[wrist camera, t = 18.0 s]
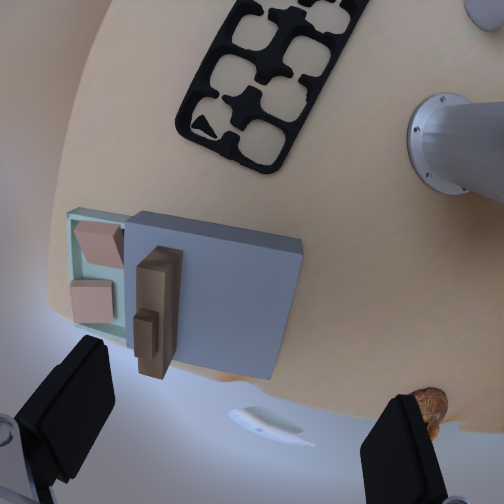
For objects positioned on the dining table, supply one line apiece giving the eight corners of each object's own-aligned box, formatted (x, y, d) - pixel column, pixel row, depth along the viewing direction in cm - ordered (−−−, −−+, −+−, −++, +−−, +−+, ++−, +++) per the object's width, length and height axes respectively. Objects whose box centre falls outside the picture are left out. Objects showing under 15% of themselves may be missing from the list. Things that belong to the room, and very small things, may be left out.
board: (301, 239, 39) (303, 254, 34) (272, 356, 45) (270, 379, 41) (142, 210, 39) (124, 221, 35) (139, 327, 46) (126, 347, 41)
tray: (141, 218, 40) (131, 224, 37) (139, 333, 46) (132, 344, 43) (78, 207, 40) (66, 212, 37) (84, 316, 46) (75, 326, 44)
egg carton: (177, 150, 37) (166, 153, 33) (238, -59, 26) (234, -74, 22) (322, 187, 37) (326, 193, 33) (376, -29, 26) (383, -42, 22)
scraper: (183, 250, 35) (157, 282, 28) (176, 349, 40) (157, 391, 33) (157, 245, 35) (127, 275, 28) (154, 344, 40) (132, 384, 33)
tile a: (119, 224, 37) (112, 236, 35) (130, 258, 41) (124, 269, 40) (80, 220, 37) (73, 230, 36) (93, 252, 42) (87, 263, 40)
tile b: (69, 286, 39) (71, 279, 40) (74, 322, 41) (75, 315, 43) (111, 287, 41) (111, 279, 43) (113, 323, 43) (113, 315, 45)
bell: (380, 431, 51) (386, 461, 44) (398, 388, 46) (409, 419, 40) (432, 425, 50) (442, 453, 43) (455, 383, 45) (469, 410, 39)
